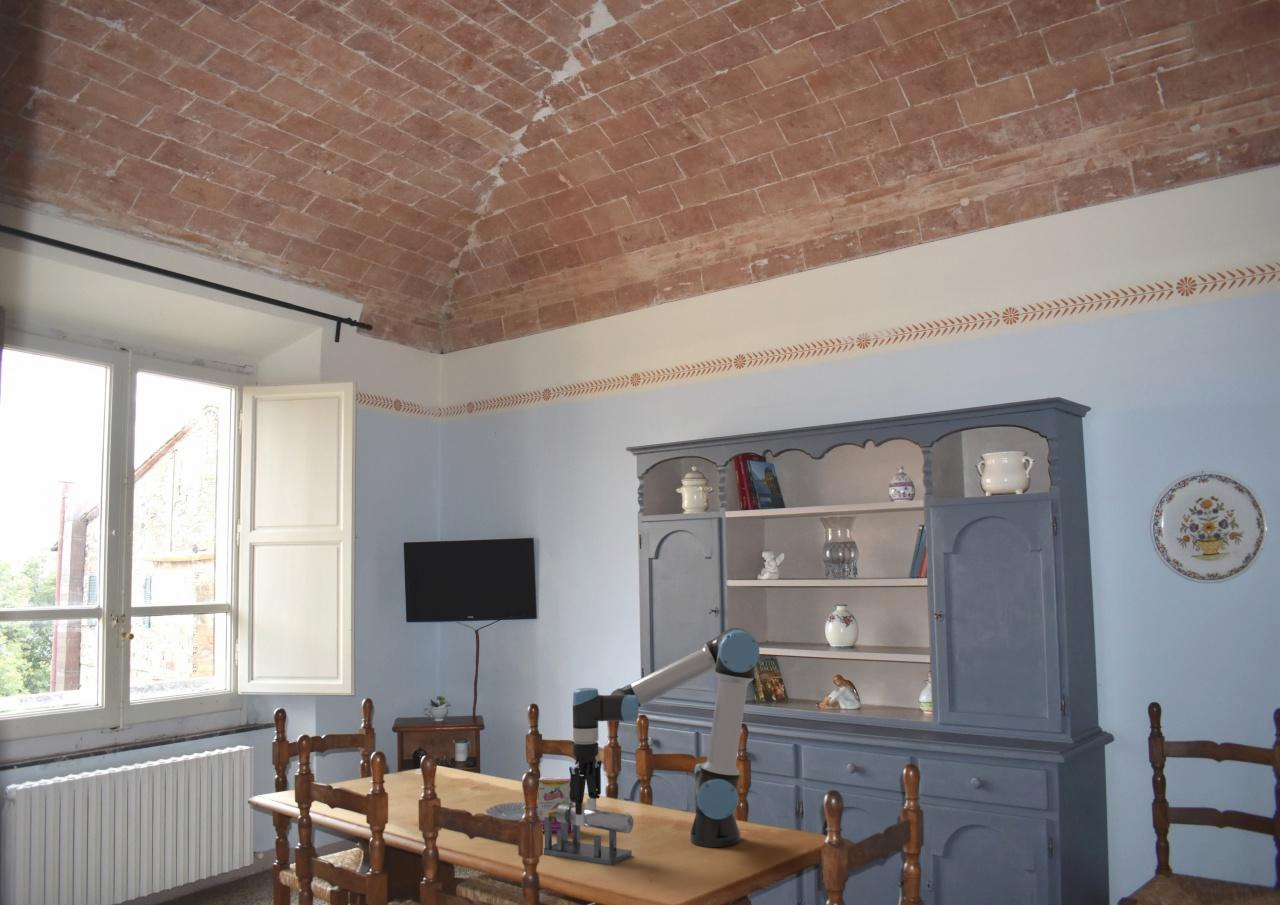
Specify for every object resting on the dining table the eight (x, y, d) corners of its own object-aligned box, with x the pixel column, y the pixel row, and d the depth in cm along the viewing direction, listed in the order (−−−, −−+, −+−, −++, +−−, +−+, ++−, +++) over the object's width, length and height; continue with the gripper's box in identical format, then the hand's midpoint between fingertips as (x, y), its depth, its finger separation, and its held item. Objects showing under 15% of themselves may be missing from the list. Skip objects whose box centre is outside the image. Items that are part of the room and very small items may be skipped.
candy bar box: (536, 833, 322) (536, 779, 324) (539, 829, 327) (539, 776, 329) (571, 833, 321) (571, 779, 323) (574, 829, 326) (573, 776, 328)
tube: (631, 834, 291) (634, 815, 292) (622, 833, 287) (625, 813, 288) (563, 823, 303) (567, 804, 305) (553, 821, 299) (557, 802, 301)
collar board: (631, 855, 294) (631, 814, 296) (610, 865, 285) (610, 822, 286) (564, 845, 307) (564, 805, 308) (542, 854, 298) (542, 813, 299)
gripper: (592, 736, 309) (592, 815, 307) (557, 745, 294) (557, 828, 291) (613, 738, 305) (613, 818, 303) (578, 747, 290) (578, 832, 287)
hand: (585, 823), depth 297 cm, fingers closed on tube, 5 cm apart
